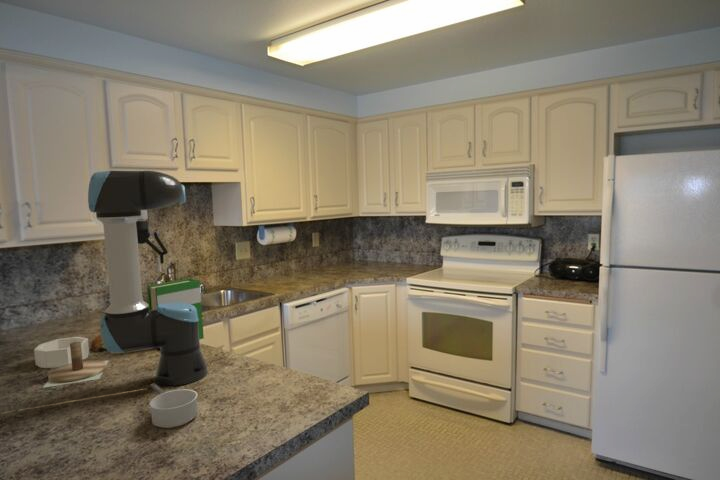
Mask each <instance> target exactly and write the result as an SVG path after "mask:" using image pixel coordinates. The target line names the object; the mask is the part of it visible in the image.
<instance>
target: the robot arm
mask: <svg viewBox="0 0 720 480" xmlns="http://www.w3.org/2000/svg"><path fill="white" fill-rule="evenodd" d="M185 188H186V187H185V185H184V184H182V183H181V182H180V181H179V180H178V178H176V177H174V176H172V175H170V174H167V173H164V172H160V171H155V170H104V171H96V172H94V173H92V175H91V177H90V180H89V185H88V190H87V191H88V192H87V204H88V210H89V211H90V213H94V214H95V215H96V220H98V221H99V222H101V223H102V226H103V233H104V234H103V235H104V246H105V257H106V258H105V259H106V267H107V279H108V289H109V300H110V305H109V306H108V307H107V308H106V309H105V314H104V315H102V316H101V317H100V319H99V325H100V334H101V335H102V339H103V343H104V345H105V347H106V349H107V350H108V351H107V352H108V353H111V354H121V353H122V354H123V353H124V354H127V353H130V352H138V351H144V350H151V349H158V348H159V350H160V351H159V353H160V356H159V361H158V364H157V368H156V371H155V380H156V382H157V384H160V385H162V386H168V387H169V386H181V385H186V384H190V383H194V382H196V381H199V380H201V379H202V378H204V377H205V376H206V375H208V365H207V362H206V360H205V357H204V355H203V353H202V351H201V345H200V344H201V343H200V339H199V330H198V321H199V319H198V316H197V309H196V307H195V306H193V305H191V304H187V303H177V302H173V303H162V304H159V305H158V306H157V308H156V310H149V304H148V302H147V301H145V300H144V298H143V288H142V287H143V286H142V276H141V264H140V252H139V244H141V245H143V244H145V243H146V244H147V245H148V246H149V247H150V248H151V249H152V250H153V251H154V252H155V253H157V254H158V255H157V264H158V273H162V265H163V264H164V262H165V261H164V258H165V257H164V255H167V254H168V253H169V251H168V249H167V248H166V246H165V244H164V243H163V241H162V240H161V238H160V237H159V234H158V231H153V232H150V230H149V229H150V228H149V221H148V219H149V218H148V217H149V216H148V211H149V210H151V211H152V210H159V209H164V208H166V207H171V206H173V205H183V204H186V201H187V200H186V189H185ZM150 237H152V238H154V239H155V241H156V243H157V244H158V245H159V247H160V248H158V247H157V245H155V244H154V243H153V242H152V241H151V240H150V239H149V238H150Z"/></svg>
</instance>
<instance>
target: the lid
mask: <svg viewBox="0 0 720 480" xmlns="http://www.w3.org/2000/svg"><path fill="white" fill-rule="evenodd" d="M70 350H71V360H72V364H68V365H65V366H62V367H56V368H55V369H54V370H51V371H50V372H49V373H48V375H47V377H48V380H49V381H51V382H54V383H68V382H75V381H80V380H84V379H87V378H90V377H93V376H96V375H98V374H100V373H102V372H103V373H104V371H106V369H107V365H106V363H105V362H103V361H104V360H96V359H95V360H93V359H92V360H82V349H81V342H73V343H71V344H70ZM103 373H102V374H103Z"/></svg>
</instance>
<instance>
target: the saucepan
mask: <svg viewBox="0 0 720 480" xmlns="http://www.w3.org/2000/svg"><path fill="white" fill-rule="evenodd" d="M149 386H150V388H152V390H154V391H155V392H156V393H157V394H158V395H155V396H154V397H152V398H151V399H150V400H149V403H148V406H149V407H150V415H151V423H152V425H154V426H155V427H159V428H165V429H172V428H177V427H180V426H183V425H186V424H187V423H189V422H190V421H192V420H193V419H194V418H195V417H196V416H197V415H198V404H197V402H198V401H197V397H198V392H197V391H195V390H194V389H188V388H186V389H185V388H183V389H182V388H179V389H174V390H173V389H172V390H169V391H165V390H164V389H163V388H161V387H160V386H159V385H157V384H156V383H150V385H149Z"/></svg>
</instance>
